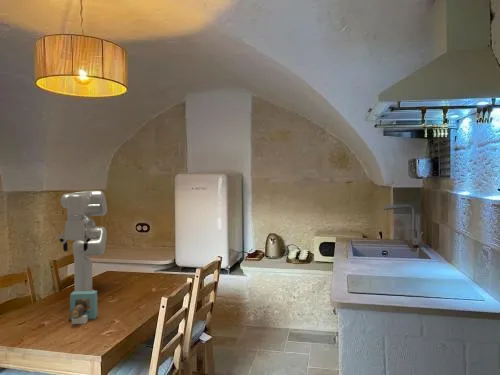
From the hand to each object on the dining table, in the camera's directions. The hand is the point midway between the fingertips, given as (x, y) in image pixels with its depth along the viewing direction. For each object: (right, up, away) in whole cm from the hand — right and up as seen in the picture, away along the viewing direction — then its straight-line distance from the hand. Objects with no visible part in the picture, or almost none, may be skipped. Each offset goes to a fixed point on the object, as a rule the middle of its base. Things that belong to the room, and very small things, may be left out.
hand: (75, 250), depth 210 cm
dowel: (+13, -25, -21) cm, 35 cm away
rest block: (+14, -29, -27) cm, 42 cm away
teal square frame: (+13, -29, -20) cm, 37 cm away
